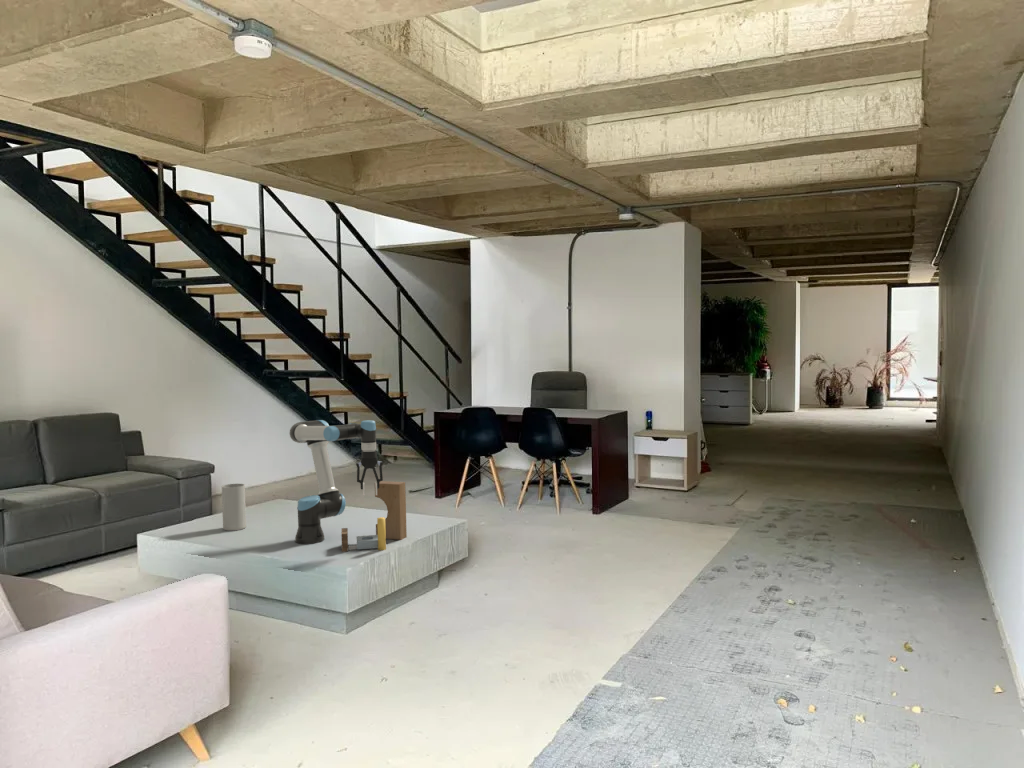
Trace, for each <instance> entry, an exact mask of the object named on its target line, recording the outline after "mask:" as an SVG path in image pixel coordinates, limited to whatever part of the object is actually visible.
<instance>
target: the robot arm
mask: <svg viewBox="0 0 1024 768" xmlns="http://www.w3.org/2000/svg"><path fill="white" fill-rule="evenodd" d="M376 426H377V425H376V421H375V420H374V419H373V420H372V419H371V420H370V419H368V420H367V419H366V420H361V421H360V423H357V422H352V423H351V422H350V423H347V424H338V425H329V423H328V422H327V421H326V420H323V419H316V420H309V421H300V422H296V423H294V424H293V425H291V427H290V429H289V438H290V439H291V440H292V441H293V442H295V443H297V444H305V443H306V445H307V447H308V448H309V449H310V450H311V456H312V460H313V466H314V470H315V474H316V475H315V476H316V479H317V480H316V481H317V484H318V485H317V486H318V489H319V490H318V491H319V492H318V493H317V495H316V494H313V495H307V496H303V497H301V498H299V499H298V501H297V509H296V510H297V526H298V527H297V529H296V534H295V536H294V537H295V538H294V539H295V541H294V542H295V543H297V544H302V545H303V544H305V545H306V544H316V543H321V542H323V541H324V540H325V534H324V530H323V527H322V525H321V519H327V518H332V517H337V516H340V515H342V514H343V513H344V511H345V509H346V505H347V504H346V498H345V496H344V494H343V493H340V491H339V489H338V488H336V486H335V485H336V484H335V480H334V479H335V478H334V475H333V470H332V466H331V465H332V464H331V460H330V456H329V451H328V444H329V442H335V441H342V440H352V439H360V440H361V443H360V444H361V445H360V446H361V460H360V461H359V462H356V463H355V465H356V482H357V483H359V484H360V489H361V490H362V496H363V497H365V496H366V495H365V491H366V489H365V482H364V479H365V475H366V472H367V470H369V469H372V472H373V473H374V477H375V480H376V481H375V482H374V488H375V487H376V495H377V489H378V488H379V482H380V481H384V479H383V478H384V477H383V467H382V466H383V461H380V460H378V459H377V457H378V455H377V427H376ZM376 465H378V469H379V470H378V471H379V476H378V474H377V473H378V472H377V471H376V468H375V467H376ZM361 466H363V471H362V473H361V474H362V475H361V477H360V471H361V468H360V467H361Z"/></svg>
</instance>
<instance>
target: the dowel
mask: <svg viewBox="0 0 1024 768" xmlns="http://www.w3.org/2000/svg"><path fill="white" fill-rule="evenodd" d="M385 519H386V517H384V516H383V517H381V516H380V517H377V518H376V520H377V521H376V524H377V528H378V548H377V550H378V551H386V549H387V539H386V529H385Z"/></svg>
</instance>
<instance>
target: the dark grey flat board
mask: <svg viewBox="0 0 1024 768" xmlns="http://www.w3.org/2000/svg"><path fill="white" fill-rule="evenodd" d="M355 550H356V551H357V550H358V549H357V544H354V545H348V551H355Z"/></svg>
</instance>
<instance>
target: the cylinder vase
mask: <svg viewBox="0 0 1024 768" xmlns="http://www.w3.org/2000/svg"><path fill="white" fill-rule="evenodd" d="M245 489H246V484H245V483H229V484H223V485H222V486H221V507H222V529H223V530H224V531H231V532H235V531H242V530H244V529H245V528H246V527H247V515H246V514H247V513H246V512H247V511H246V490H245Z"/></svg>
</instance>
